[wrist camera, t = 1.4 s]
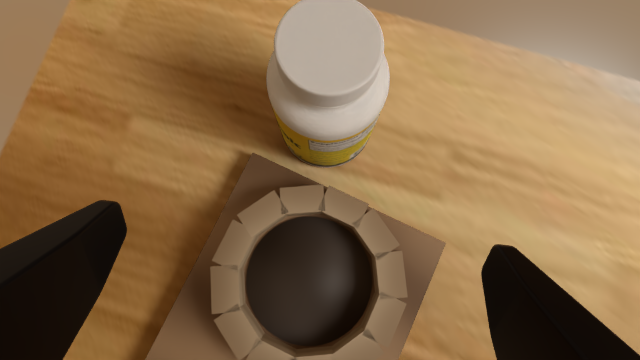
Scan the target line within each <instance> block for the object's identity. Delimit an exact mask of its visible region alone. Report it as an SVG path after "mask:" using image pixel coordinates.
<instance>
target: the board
mask: <svg viewBox="0 0 640 360" xmlns="http://www.w3.org/2000/svg"><path fill="white" fill-rule="evenodd" d="M368 205H369V204H367V203H365V202H363V201H361V200H359V199H357V198H355V197H352V196H350V195H348V194H346V193H344V192H342V191H340V190H337V189H335V188H333V187H331V186H329V187H325V186H323V185H321V184H319V183H317V182H315V181H313V180H310V179H308V178H306V177H304V176H302V175H300V174H298V173H295V172H293V171H291V170H289V169H287V168H285V167H283V166H281V165H278V164H276V163H274V162H272V161H270V160H268V159H266V158H263V157H261V156H259V155H257V154H255V153H252V155H251V157H250V159H249V161H248V163H247V165H246V167H245V168H244V170H243V172H242V174H241V176H240V178H239V180H238V182H237V184H236V186H235V188H234V190H233V192H232V193H231V195H230V197H229V199H228V201H227V203H226V205H225V207H224V209H223V211H222V213H221V215H220V216H219V218H218V220H217V222H216V224H215V226H214V228H213V230H212V232H211V234H210V236H209V238H208V240H207V241H206V243H205V245H204V247H203V249H202V251H201V253H200V255H199V257H198V259H197V261H196V263H195V265H194V266H193V268H192V270H191V272H190V274H189V276H188V278H187V280H186V282H185V284H184V286H183V288H182V290H181V291H180V293H179V295H178V297H177V299H176V301H175V303H174V305H173V307H172V309H171V311H170V313H169V315H168V316H167V318H166V320H165V322H164V324H163V326H162V328H161V330H160V332H159V334H158V336H157V338H156V340H155V341H154V343H153V345H152V347H151V349H150V351H149V353H148V355H147V357H146V359H145V360H398V359H399V356H400V354H401V352H402V349H403V347H404V344H405V342H406V339H407V337H408V334H409V332H410V330H411V327H412V325H413V322H414V320H415V317H416V315H417V312H418V310H419V308H420V305H421V303H422V300H423V298H424V295H425V293H426V290H427V288H428V286H429V283H430V281H431V278H432V276H433V273H434V271H435V268H436V266H437V264H438V261H439V259H440V256H441V254H442V251H443V249H444V246H445V244H446V243H445V242H443V241H441V240H439V239H436V238H434V237H432V236H430V235H428V234H426V233H424V232H421V231H419V230H417V229H415V228H413V227H411V226H409V225H406V224H404V223H402V222H400V221H398V220H396V219H394V218H392V217H389V216H387V215H385V214H383V213H381V212H379V211H377V210H375V209H374V208H373V209H372V208H370V207H368Z"/></svg>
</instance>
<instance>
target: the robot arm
mask: <svg viewBox="0 0 640 360" xmlns="http://www.w3.org/2000/svg"><path fill="white" fill-rule="evenodd" d="M126 233H127V227H126V223H125V219H124V216H123V213H122V209H121V206H120V204H119V203H118V202H115V201H106V200H100V201H97V202H95V203H93V204H91V205H89V206H87V207H85V208H83V209H81V210H78V211H76V212H74V213H72V214H70V215H68V216H66V217H64V218H62V219H60V220H58V221H56V222H54V223H52V224H50V225H48V226H46V227H44V228H42V229H40V230H38V231H36V232H34V233H32V234H30V235H28V236H25V237H23V238H21V239H19V240H17V241H15V242H13V243H11V244H9V245H7V246H5V247H3V248H1V249H0V360H63V358H64V356H65V355H66V353H67V351H68V349H69V348H70V346H71V344H72V342H73V341H74V339H75V337H76V335H77V334H78V332H79V330H80V328H81V327H82V325H83V323H84V321H85V320H86V318H87V316H88V314H89V313H90V311H91V309H92V307H93V306H94V304H95V302H96V300H97V299H98V297H99V295H100V293H101V291H102V289H103V287H104V285H105V283H106V280H107V278H108V276H109V274H110V271H111V269H112V267H113V264H114V262H115V260H116V257H117V255H118V253H119V251H120V248H121V246H122V244H123V241H124V239H125V237H126ZM481 275H482V283H483V290H484V296H485V303H486V309H487V316H488V322H489V328H490V334H491V338H492V343H493V347H494V350H495V354H496V358H497V360H640V355H639V354H638V353H636V352H635V351H634V350H633V349H632V348H631V347H629V346H628V345H627V344H626V343H625V342H624V341H623V340H621V339H620V338H619V337H618V336H617V335H616V334H614V333H613V332H612V331H611V330H610V329H609V328H608V327H606V326H605V325H604V324H603V323H602V322H601V321H599V320H598V319H597V318H596V317H595V316H594V315H592V314H591V313H590V312H589V311H588V310H587V309H586V308H584V307H583V306H582V305H581V304H580V303H579V302H577V301H576V300H575V299H574V298H573V297H572V296H571V295H569V294H568V293H567V292H566V291H565V290H564V289H562V288H561V287H560V286H559V285H558V284H557V283H555V282H554V281H553V280H552V279H551V278H550V277H549V276H547V275H546V274H545V273H544V272H543V271H542V270H540V269H539V268H538V267H537V266H536V265H535V264H534V263H532V262H531V261H530V260H529V259H528V258H527V257H525V256H524V255H523V254H522V253H521V252H520V251H519V250H517V249H516V248H515V247H513V246H509V245H500V244H497V245H494V246H493V247H492V249H491V251H490V253H489V255H488V257H487V259H486V261H485V263H484V265H483V268H482V273H481Z"/></svg>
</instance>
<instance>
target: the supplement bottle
mask: <svg viewBox="0 0 640 360" xmlns="http://www.w3.org/2000/svg"><path fill="white" fill-rule="evenodd" d="M266 83H267V90H268V96H269V99H270V102H271V105H272V108H273V111H274V114H275V116H276V119H277V122H278V125H279V127H280V130H281V133H282V135H283V138H284V140H285V142H286V144H287V146H288V148H289V149H290V150H291V152H292V153H293V154H294V155H295V156H296V157H297V158H299V159H300V160H302V161H303V162H305V163H307V164H310V165H312V166H316V167H323V168H329V167H336V166H340V165H343V164H345V163H347V162H349V161H351V160H352V159H354V158H355V157H356V156H357V155H358V154H359V153H360V152H361V151H362V149H363V148H364V147H365V145H366V143H367V141H368V139H369V137H370V135H371V133H372V130H373V128H374V126H375V124H376V121H377V119H378V117H379V115H380V112H381V110H382V108H383V106H384V104H385V101H386V98H387V95H388V91H389V83H390V74H389V67H388V63H387V60H386V57H385V55H384V38H383V33H382V30H381V27H380V25H379V23H378V21H377V19H376V18H375V16H374V15H373V14H372V13H371V12H370V10H369V9H368V8H366V7H365V6H364V5H363V4H361V3H360V2H358V1H356V0H301V1H300V2H298V3H296V4H295V5H294V6H293V7H291V8H290V9H289V10H288V11H287V12H286V13H285V15H284V16H283V18H282V19H281V21H280V22H279V25H278V27H277V30H276V33H275V38H274V51H273V53H272V55H271V57H270V60H269V64H268V68H267V76H266Z"/></svg>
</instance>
